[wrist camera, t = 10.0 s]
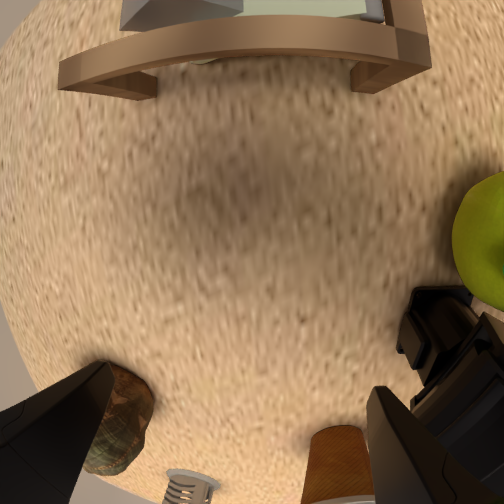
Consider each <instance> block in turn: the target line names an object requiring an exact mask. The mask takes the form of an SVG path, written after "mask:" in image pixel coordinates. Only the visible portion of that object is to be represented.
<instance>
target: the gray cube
mask: <svg viewBox="0 0 504 504" xmlns="http://www.w3.org/2000/svg"><path fill="white" fill-rule="evenodd" d="M242 12H244V3H243V0H123V3H122V10H121V19H120V29H119V31H138V32H146V31H150V30H154V29H158V28H163V27H167V26H172V25H177V24H183V23H188V22H194V21H201V20H208V19H216V18H225V17H233V16H235V15H238V14H240V13H242Z"/></svg>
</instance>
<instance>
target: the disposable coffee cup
mask: <svg viewBox="0 0 504 504" xmlns="http://www.w3.org/2000/svg"><path fill="white" fill-rule="evenodd" d="M301 504H375V495H374V486H373V478H372V471H371V463H370V457H369V453H368V450H367V447H366V444H365V440H364V437H363V434H362V431H361V430H360V429H358V428H356V427H353V426H335V427H331V428H327V429H324V430H322V431H320V432H318V433H317V434H315V435H314V436H313V437H312V439H311V445H310V452H309V458H308V465H307V471H306V477H305V483H304V488H303V494H302V499H301Z"/></svg>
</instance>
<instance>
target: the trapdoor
mask: <svg viewBox="0 0 504 504" xmlns="http://www.w3.org/2000/svg"><path fill="white" fill-rule="evenodd" d="M243 3H244V12H242V13H240V14H238V15H235V16H233V17H236V16H250V15H311V16H325V17H336V18H345V19H353V20H360V21H366V22H372V23H378V24H380V23H383V22H384V14H383V7H382V2H381V0H243ZM215 59H217V58H215ZM212 60H214V59H206V60H198V61H190V62H189V63H195V64H204V63H207V62H209V61H212Z"/></svg>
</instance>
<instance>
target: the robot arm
mask: <svg viewBox="0 0 504 504" xmlns="http://www.w3.org/2000/svg"><path fill="white" fill-rule="evenodd" d="M469 292H470V291H469V290H468V289H467V287H466V286H460V287H418V288H415V289H414V290H413V292H412V295H411V299H410V303H409V307H408V310H407V312H406V314H405V316H404V319H403V323H402V326H401V329H400V333H399V336H398V339H399V341H398V344H397V347H396V350H397V352H398V353H399V354H405V355H406V357H407V359H408V362H409V364H410V366H411V368H412V369H413V370H417V372H418V374H419V376H420V379H421V381H422V384H423V386H424V388H423V389H422V390H421V391H420V392H419V393H418V394H417V395H415V396H414V397H413V398H412V399H411V400H410V411H409V409H408V408H407V407H406V406H405V405H404V404H403V403H402V402H401V401H400V400H399V399H398V398H397V397H396V396H395V395H394V394H393V393H392V391H391V390H390V389H389V388H388V387H387V386H375V387H374V388H373V389H372V391H371V394H370V396H369V399H368V401H367V407H366V409H367V429H368V449H369V457H370V463H371V471H372V478H373V486H374V495H375V504H504V323H503V322H501V321H500V320H498V319H496V318H494V317H493V316H491V315H489V314H487V313H486V312H483V313H482V314H481V316H480V317H479V316H478V315H477V314H476V313H475V312H474V310H473V309H472V308H471V307H470V305H471V302H472V299H473V296H474V295H473V294H472V293H471V292H470V293H469ZM418 293H420V294H419V295H417V294H418ZM468 293H469V294H468ZM416 295H417V296H416ZM401 348H402V349H401ZM114 385H115V376H114V374H113V371H112V369H111V366H110V364H109V363H108V362H107V361H103V360H97V361H95V362H93V363H91V364H89V365H88V366H86V367H84V368H82V369H80V370H79V371H77V372H75V373H73V374H71V375H70V376H68V377H66V378H64V379H62V380H60V381H59V382H57V383H55V384H53V385H51V386H49V387H48V388H46V389H44V390H42V391H40V392H39V393H37V394H35V395H33V396H31V397H29V398H27V399H26V400H24V401H22V402H20V403H18V404H16V405H14V406H12V407H10V408H8V409H6V410H3V411H1V412H0V504H69V501H70V498H71V495H72V492H73V490H74V487H75V485H76V482H77V479H78V477H79V474H80V472H81V469H82V467H83V464H84V462H85V459H86V457H87V455H88V452H89V450H90V447H91V445H92V443H93V440H94V438H95V436H96V433H97V431H98V429H99V427H100V424H101V422H102V420H103V417H104V415H105V412H106V409H107V406H108V403H109V400H110V397H111V393H112V391H113V388H114Z"/></svg>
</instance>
